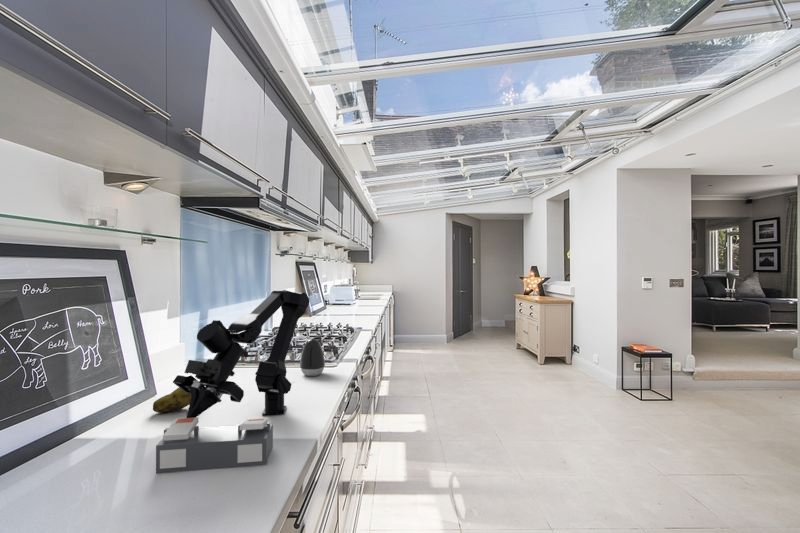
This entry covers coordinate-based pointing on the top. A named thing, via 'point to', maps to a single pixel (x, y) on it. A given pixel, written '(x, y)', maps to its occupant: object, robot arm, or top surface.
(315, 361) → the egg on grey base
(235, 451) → the power strip
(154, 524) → the top surface
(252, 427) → the rocker switch
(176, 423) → the outlet rocker
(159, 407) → the potato
